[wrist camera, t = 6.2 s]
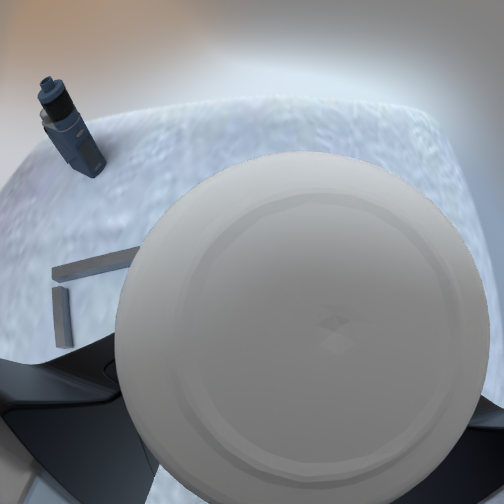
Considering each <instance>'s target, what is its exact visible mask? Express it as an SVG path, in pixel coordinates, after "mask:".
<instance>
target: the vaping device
mask: <svg viewBox="0 0 504 504" xmlns="http://www.w3.org/2000/svg"><path fill="white" fill-rule="evenodd" d="M40 86H41V88H42V90H41V91H40V92H39V94H38V99H39V101H40V103H41V105H42V106H43V109H42V111H41V112H40V117H41V118H42V120H43V121H42V125H43V126H44V130H45V132H46V133H47V135H48V136H49V138H50V139H51V141H52V142H53V144H54V145H55V147H56V148H57V149H58V151H59V152H60V154H61V155H62V157H63V158H64V159H65V161H66V162H67V164H68V163H69V164H70V165H71V167H72V168H73V169H75V170H77V171H79V172H81V173H83V174H85V175H87V176H89V177H91V178H94V177H95V176H96V175H98V174H99V173H100V172H101V171H102V169H103V168H104V166H105V163H106V161H105V159H104V157H103V156H102V154H101V152H100V150H99V149H98V147H97V145H96V143H95V141H94V140H93V138H92V136H91V134H90V132H89V130H88V129H87V127H86V125H85V123H84V121H83V119H82V117H81V115H80V113H79V112H78V111H77V109H76V107H75V106H74V104H73V102H72V100H71V98H70V96H69V94H68V92H67V91H66V88H65V86H64V83H63V81H62V80H55V81H53V80H52V78H51V77H50V76H49V77H46V78H45V79H43V80H42V81H41V83H40ZM43 104H44V105H43Z"/></svg>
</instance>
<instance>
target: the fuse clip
mask: <svg viewBox="0 0 504 504" xmlns="http://www.w3.org/2000/svg"><path fill="white" fill-rule="evenodd" d="M139 249H140V246H138V247H134V248H130V249H126V250H121V251H117V252H113V253H109V254H105V255H101V256H97V257H93V258H89V259H85V260H81V261H77V262H73V263H69V264H65V265H61V266H57V267H53V268H52V279H53V280H55V281H57V282H58V283H61V282H65V281H69V280H73V279H78V278H82V277H86V276H91V275H95V274H99V273H104V272H108V271H113V270H117V269H121V268H126V267H130V266H131V263H132V261H133V259H134V258H135V256H136V254H137V252H138V250H139ZM52 300H53V318H54V330H55V340H56V347H57V348H63V349H66V348H73V342H72V334H71V324H70V313H69V299H68V289H66V288H64V287H62V286H58V287H54V288H52Z"/></svg>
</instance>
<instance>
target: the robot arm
mask: <svg viewBox="0 0 504 504" xmlns="http://www.w3.org/2000/svg"><path fill="white" fill-rule="evenodd" d="M159 464H160V463H159V462H158V460H157V459H156V458H155V457H154V455H153V454H152V453H151V452H150V450H149V449H148V448H147V446H146V445H145V443H144V441H143V440H142V438H141V437H140V435H139V433H138V432H137V429H136V427H135V425H134V423H133V421H132V419H131V417H130V414H129V412H128V410H127V407H126V404H125V401H124V398H123V395H122V391H121V388H120V384H119V380H118V375H117V369H116V361H115V332H114V333H112V334H110V335H108V336H106V337H104V338H102V339H100V340H98V341H96V342H94V343H92V344H89V345H87V346H85V347H82V348H80V349H78V350H75V351H73V352H70V353H68V354H65V355H63V356H60V357H58V358H56V359H53V360H51V361H48V362H45V363H41V364H33V365H29V364H21V363H17V362H13V361H9V360H5V359H1V358H0V504H145V502H146V499H147V496H148V494H149V491H150V488H151V486H152V483H153V480H154V477H155V475H156V472H157V470H158V467H159ZM389 504H504V409H503V408H501V407H499V406H497V405H495V404H494V403H493V402H491V401H490V400H488V399H487V398H485V397H484V396H482V395H480V398H479V401H478V403H477V406H476V408H475V411H474V413H473V415H472V417H471V419H470V421H469V423H468V425H467V427H466V429H465V430H464V432H463V434H462V435H461V437H460V438H459V440H458V441H457V443H456V444H455V446H454V447H453V448H452V450H451V451H450V452H449V454H448V455H447V456H446V457H445V459H444V460H443V461H442V462H441V463H440V464H439V465H438V466H437V467H436V468H435V469H434V470H433V471H432V472H431V473H430V474H429V475H428V476H427V477H426V478H425V479H424V480H423V481H421V482H420V483H419V484H417V485H416V486H415V487H413V488H412V489H411V490H409V491H408V492H407V493H405V494H404V495H402V496H401V497H399V498H398V499H396V500H394V501H392V502H391V503H389Z"/></svg>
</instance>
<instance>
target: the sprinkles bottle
mask: <svg viewBox="0 0 504 504" xmlns="http://www.w3.org/2000/svg"><path fill="white" fill-rule="evenodd" d="M489 347H490V323H489V314H488V307H487V301H486V296H485V292H484V288H483V284H482V280H481V278H480V275H479V272H478V270H477V267H476V265H475V262H474V260H473V258H472V255H471V253H470V251H469V250H468V248H467V246H466V244H465V243H464V241H463V239H462V238H461V236H460V234H459V233H458V231H457V230H456V228H455V227H454V226H453V225H452V223H451V222H450V221H449V220H448V218H447V217H446V216H445V215H444V214H443V213H442V212H441V210H440V209H439V208H438V207H437V206H436V205H435V204H434V203H433V202H432V201H431V200H430V199H429V198H427V197H426V196H425V195H424V194H423V193H422V192H420V191H419V190H418V189H416V188H415V187H413V186H412V185H411V184H409V183H408V182H406V181H405V180H403V179H402V178H400V177H398V176H396V175H394V174H393V173H391V172H389V171H387V170H385V169H382V168H380V167H378V166H375V165H373V164H371V163H368V162H365V161H362V160H358V159H354V158H351V157H347V156H343V155H337V154H331V153H323V152H311V151H292V152H284V153H276V154H270V155H264V156H261V157H257V158H254V159H251V160H247V161H244V162H241V163H238V164H236V165H233V166H231V167H228V168H226V169H224V170H222V171H220V172H218V173H216V174H214V175H213V176H211V177H209V178H207V179H206V180H204V181H203V182H201V183H199V184H198V185H196V186H195V187H194V188H192V189H191V190H190V191H189V192H187V193H186V194H185V195H183V196H182V197H181V198H180V199H179V200H178V201H177V202H176V203H174V204H173V205H172V206H171V207H170V208H169V209H168V210H167V211H166V212H165V213H164V215H163V216H162V217H161V218H160V219H159V221H158V222H157V223H156V224H155V225H154V227H153V228H152V229H151V231H150V232H149V233H148V235H147V236H146V238H145V240H144V242H143V243H142V245H141V247H140V249H139V250H138V252H137V254H136V256H135V258H134V259H133V261H132V263H131V266H130V269H129V271H128V274H127V277H126V279H125V282H124V285H123V288H122V290H121V294H120V299H119V304H118V309H117V314H116V323H115V361H116V369H117V375H118V380H119V384H120V388H121V391H122V395H123V398H124V401H125V404H126V407H127V410H128V412H129V414H130V417H131V419H132V421H133V423H134V425H135V427H136V429H137V432H138V433H139V435H140V437H141V438H142V440H143V441H144V443H145V445H146V446H147V448H148V449H149V450H150V452H151V453H152V454H153V455H154V457H155V458H156V459H157V460H158V462H159V463H160V464H161V465H162V467H163V468H164V469H165V470H166V471H168V472H169V473H170V474H171V475H172V476H173V477H174V478H175V479H176V480H177V481H178V482H179V483H181V484H182V485H183V486H184V487H185V488H187V489H188V490H190V491H191V492H192V493H194V494H195V495H197V496H198V497H200V498H201V499H203V500H204V501H206V502H208V503H209V504H389V503H391V502H392V501H394V500H396V499H398V498H399V497H401V496H402V495H404V494H405V493H407V492H408V491H409V490H411V489H412V488H413V487H415V486H416V485H417V484H419V483H420V482H421V481H423V480H424V479H425V478H426V477H427V476H428V475H429V474H430V473H431V472H432V471H433V470H434V469H435V468H436V467H437V466H438V465H439V464H440V463H441V462H442V461H443V460H444V459H445V457H446V456H447V455H448V454H449V452H450V451H451V450H452V448H453V447H454V446H455V444H456V443H457V441H458V440H459V438H460V437H461V435H462V434H463V432H464V430H465V429H466V427H467V425H468V423H469V421H470V419H471V417H472V415H473V413H474V411H475V408H476V406H477V403H478V401H479V398H480V395H481V392H482V388H483V385H484V381H485V377H486V371H487V365H488V359H489Z"/></svg>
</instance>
